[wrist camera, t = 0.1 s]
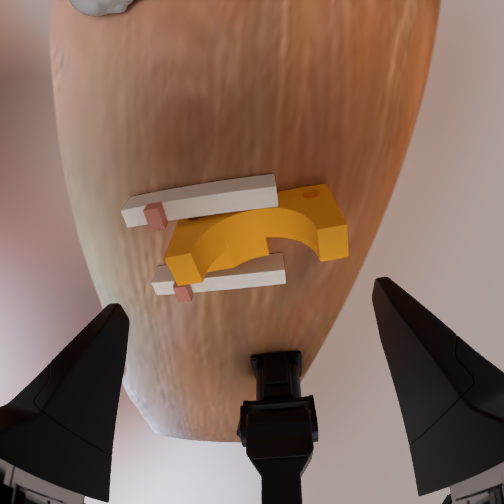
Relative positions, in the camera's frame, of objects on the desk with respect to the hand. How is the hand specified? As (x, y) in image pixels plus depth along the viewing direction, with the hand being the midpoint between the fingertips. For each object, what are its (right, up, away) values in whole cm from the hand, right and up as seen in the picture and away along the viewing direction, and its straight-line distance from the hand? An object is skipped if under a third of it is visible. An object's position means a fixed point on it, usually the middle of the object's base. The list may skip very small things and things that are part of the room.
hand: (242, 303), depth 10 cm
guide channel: (-3, +3, +16) cm, 16 cm away
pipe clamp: (+1, +5, +15) cm, 16 cm away
